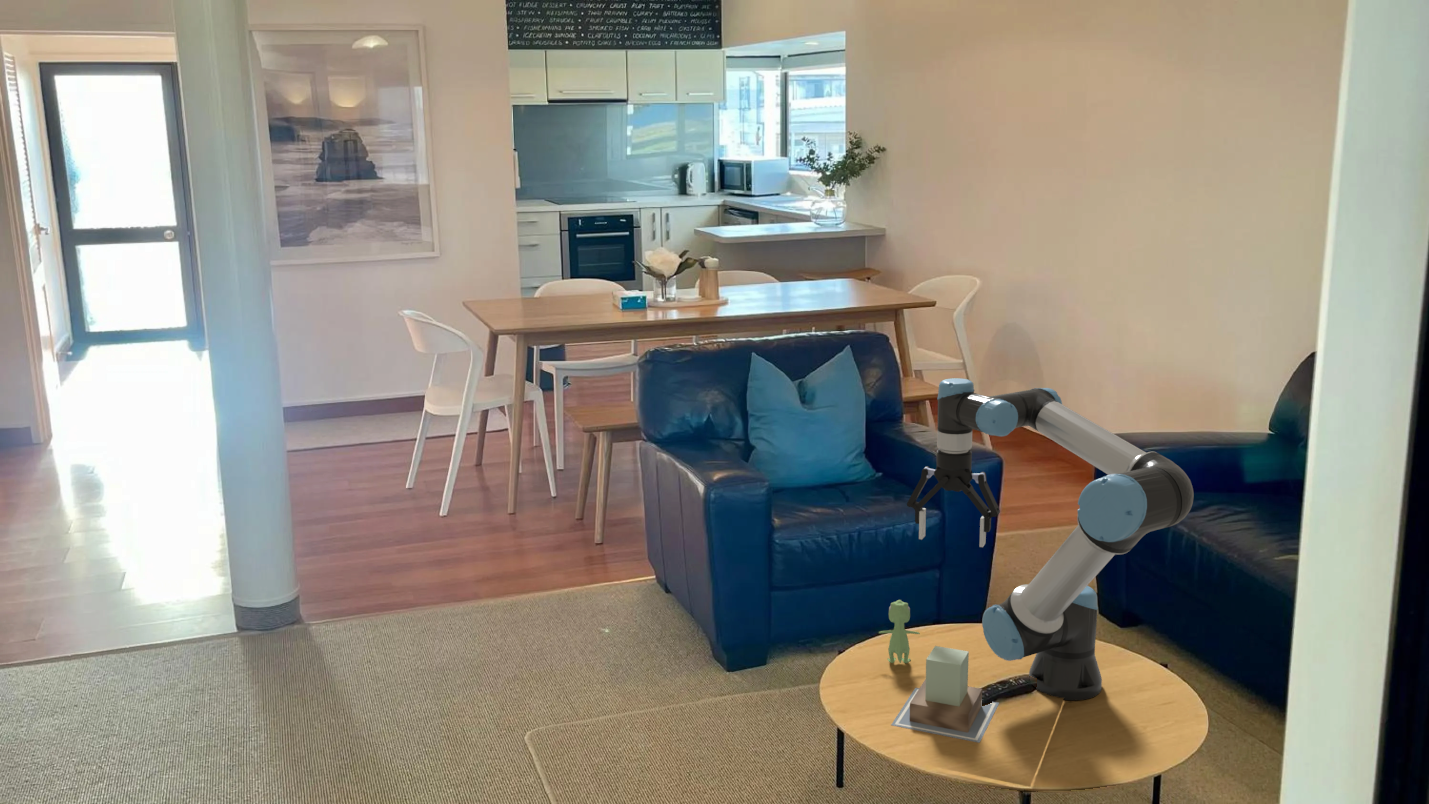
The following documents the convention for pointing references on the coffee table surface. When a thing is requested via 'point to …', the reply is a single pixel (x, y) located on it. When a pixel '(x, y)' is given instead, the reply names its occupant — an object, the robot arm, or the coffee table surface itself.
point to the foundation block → (946, 710)
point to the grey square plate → (973, 734)
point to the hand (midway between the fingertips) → (951, 541)
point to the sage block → (946, 676)
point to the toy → (899, 631)
